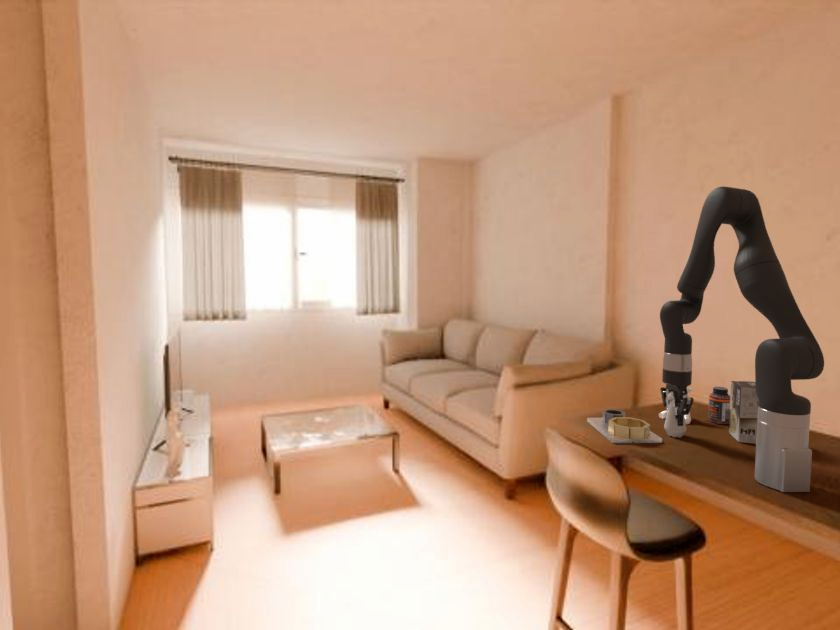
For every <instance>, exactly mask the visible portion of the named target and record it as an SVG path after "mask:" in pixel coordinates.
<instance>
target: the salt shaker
mask: <svg viewBox="0 0 840 630" xmlns="http://www.w3.org/2000/svg"><path fill="white" fill-rule="evenodd" d="M668 399H669V400H670V404H669V409H668V413H667V417H666V419H664V420H665V421H664V425H663V429H664V431H665V432H666V434H667V437H671V436H672V438H676V437H678V438H677V439H679V438H681V439H682V438H683V437H684V435H685V433H686V431H687V424H686V422H685V416H683V426H678V423H677V419H676V418H675V410H674V407H673V405H672V400H673V397H672V396H671V392H670V393H669V394H668ZM677 404H681V403H677ZM679 408H680V407H678V411H679ZM680 424H681V423H680ZM682 436H683V437H682Z"/></svg>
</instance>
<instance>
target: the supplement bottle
mask: <svg viewBox="0 0 840 630" xmlns="http://www.w3.org/2000/svg"><path fill="white" fill-rule="evenodd" d="M728 389H729V388H727V387H724V386H713V388H712V392H711V393H710V394H709V395H708V410H707V411H708V415H707V418H708V419H707V420H708V421H709V422H710V423H712V422H713V423H712V424H716V425H729V417H730V394H729V390H728Z"/></svg>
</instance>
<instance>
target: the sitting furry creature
mask: <svg viewBox="0 0 840 630" xmlns="http://www.w3.org/2000/svg"><path fill="white" fill-rule="evenodd" d="M692 391H693V388H692V387H691V388H689V386H687V392H688V394H687V395H688V396H689V394H690V393H691V392H692ZM685 410H686V409H685ZM667 413H668V411H667V409H666V410H663V411H661V412H659V413H658V418H660V419H662V420H666V417H667ZM684 416H685V422H686V425H690V424H691V421H692V418H691V411H690V412H689V415H684Z"/></svg>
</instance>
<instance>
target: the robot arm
mask: <svg viewBox="0 0 840 630" xmlns="http://www.w3.org/2000/svg"><path fill="white" fill-rule="evenodd" d="M697 223H698V224H697V226H696V229H695V233H694V238H693V242H692V246H691V251H690V254H689V257H688V259H687V261H686V264H685V267H684V269H683V271H682V273H681V274H680V277H679V279H678V283H677V284H676V289H677V291H678V292H679V293H681V296H680V299H679V300H669V301H665V303H664V304H663V305H662V306H661V308H660V312H659V318H660V319H659V320H660V324H661V328H662V332H663V333H662V334H663V336H664V348H663V349H664V352H663V358H662V379H661V380H662V383H664V385H665V386H664V387H660V395H661V400H662V405H663V407H664V408H665V409H666V410H667V411H668V409H669V404H670V400H669V399H668V394H669V393H670V392H671V396H672V397H673V400H672V405H673V407H674V410H675V418H676V419H677V423H678V426H683V416H684V415H689V412H690V413H691V409H692V407H693V403H694V401H695V400H694V398H693V397H690V396H689V393H688V392H687V387H689V386H691V385H692V377H693V376H692V375H693V355H692V353H693V352H692V351H693V349H692V348H693V338H692V335H691V334H689V333H687V332H685V329H684V325H687V324H692V323H693V322H695V321H696V320H697V319H698V317H699V316H700V314H701V311H702V307H703V302H704V294H705V291H706V289H707V287H708V285H709V283H710V281H711V280H712V277H713V276H714V275H713V274H714V272H715V267H716V258H715V240H716V236H717V233H718V231H719V229H720V227H721V226H722V224H723V225H729V226H731V227H732V229H733V230H734V233H735V236H736V238H737V241H738V250H737V253H736V256H735V258H734V259H735V260H734V262H733V274H734V277H735V280H736V282H737V285H738V288H739V290H740V293H741V295H742V297H743V298H744V299H745V300H746V301H747V302H748V303H749V304H750V305H751V306H752V307H753V308H754V309H756V310H757V311H758V312H759V313H760V314H761V315H763V316H764V317H765V318H766V319H767V320H768V322H769V323H770V324H771V325H772V326H773V328H774V329H775V332H776V334H777V336H778V338H768V339H765V340H763V341H761V342H760V344H758V347H757V349H756V352H755V358H754V374H755V375H754V376H755V380H754V382H755V389H756V394H757V397H758V419H757V438H756V444H755V457H754V458H755V459H754V460H755V461H754V462H755V463H754V464H755V465H754V479H755V481H756V482H757V483H760V484H761V485H762V486H765V487H769V488H771V489H774V490H778V491H780V493H810V490H811V489H810V488H811V475H812V474H811V473H812V458H813V457H812V456H813V450H812V449H810V448H809V440H810V423H811V414H812V413H811V412H812V409H811V408H812V403H811V401H810V399H808V398H807V397H805V396H803V395H799V394H796V393H795V392H794V391H793V389H792V381H795V380H796V381H798V380H799V381H800V380H802V381H803V380H812V379H813V380H814V379H816V378H818V377H819V376H820V375H821V374H822V372H823V371H824V367H825V357H824V353H823V351H822V349H821V346H820V344H819V342H818V340H817V339H816V337H815V336H814V333H813V331H812V330H811V328H810V327H809V325H808V323H807V321H806V320H805V318H804V316H803V314H802V312H801V310H800V307H799V306H798V303H797V301H796V298H795V296H794V294H793V293H792V290H791V288H790V285H789V283H788V280H787V277H786V274H785V272H784V269H783V267H782V264H781V263H780V261H779V258H778V255H777V254H776V251H775V249H774V246H773V243H772V241H771V238H770V236H769V234H768V233H769V232H768V230H767V226H766V223H765V219H764V215H763V212H762V207H761V204H760V201H759V198H758V197H757V196H756V194H755V193H754V192H753V191H751V190H748V189H745V188H744V189H743V188H737V187H731V186H718V187H716V188H714V189H713V190H711V191H710V192H709V193H708V195H707V196H706V198H705V200H704V203H703V205H702V207H701V211H700V215H699V219H698V222H697ZM687 394H688V395H687ZM677 403H681V404H677ZM678 407H680V408H679V411H678ZM685 409H686V410H685ZM680 423H681V424H680Z"/></svg>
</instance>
